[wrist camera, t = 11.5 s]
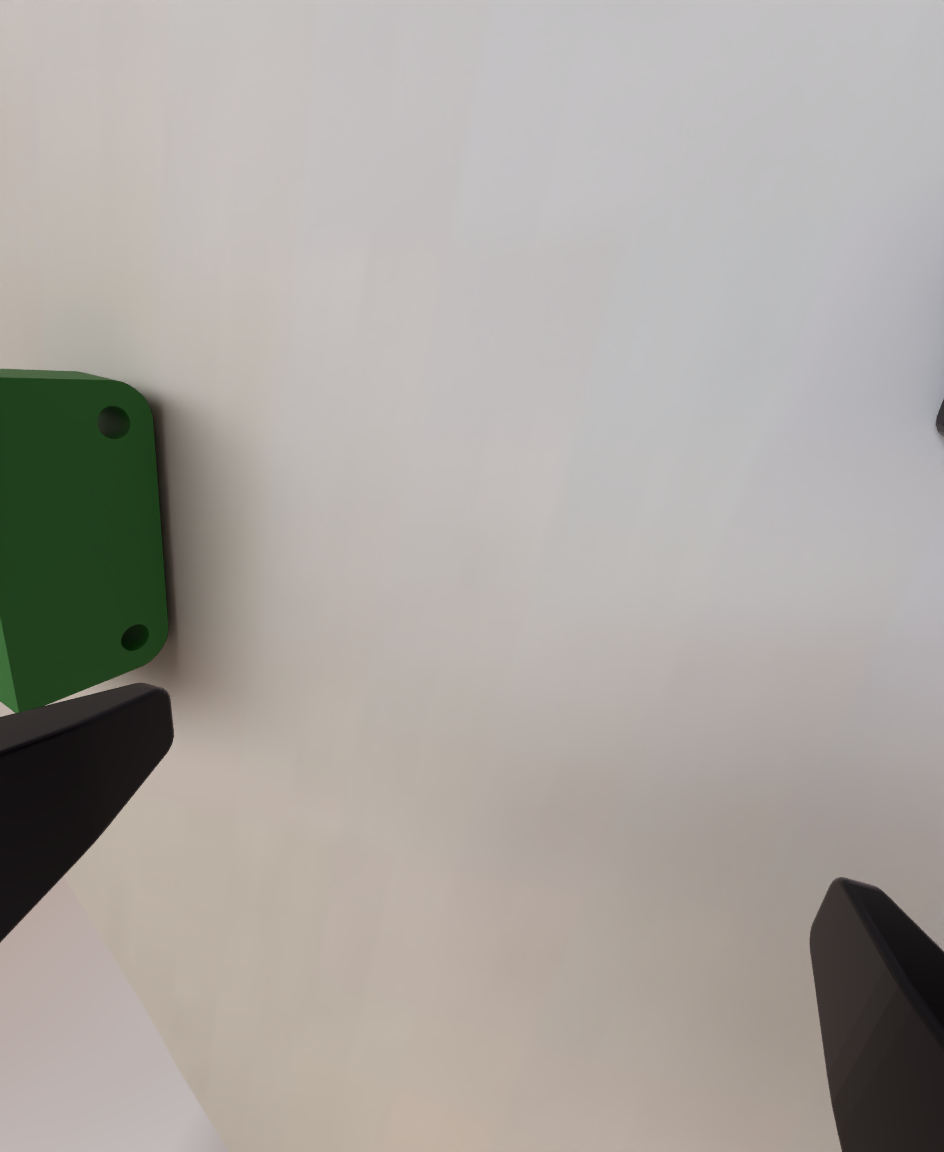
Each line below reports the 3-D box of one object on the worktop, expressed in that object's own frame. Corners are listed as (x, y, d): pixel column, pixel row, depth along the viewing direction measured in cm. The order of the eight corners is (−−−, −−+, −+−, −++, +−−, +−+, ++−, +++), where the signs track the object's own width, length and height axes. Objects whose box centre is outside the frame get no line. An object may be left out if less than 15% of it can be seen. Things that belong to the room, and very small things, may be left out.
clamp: (144, 408, 26) (-120, 296, 18) (233, 432, 24) (-28, 314, 15) (65, 654, 26) (-236, 655, 18) (144, 704, 24) (-161, 731, 16)
